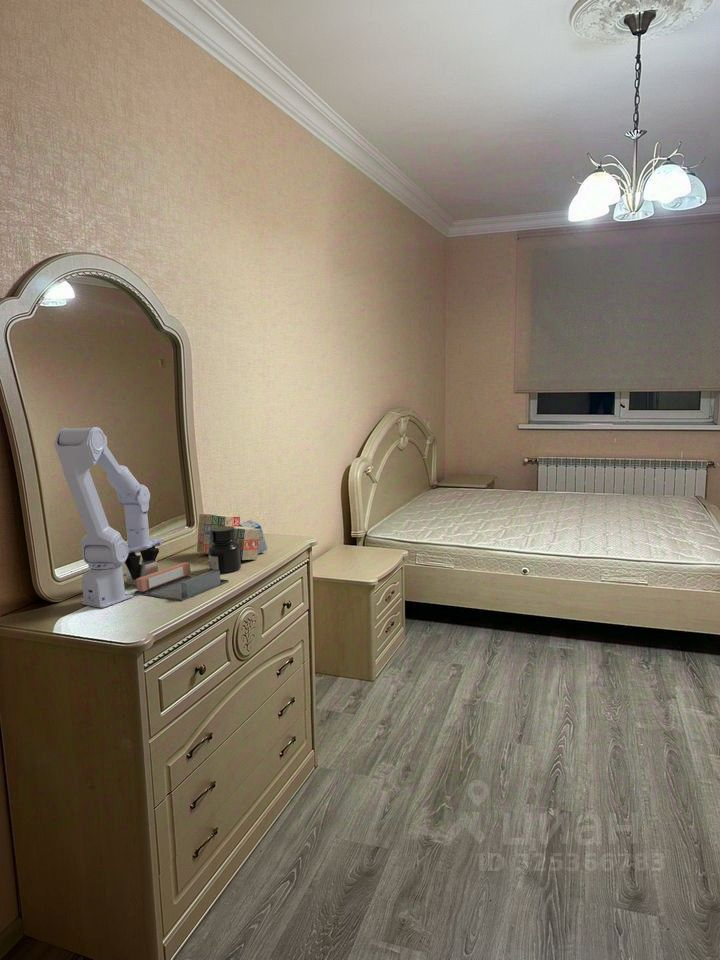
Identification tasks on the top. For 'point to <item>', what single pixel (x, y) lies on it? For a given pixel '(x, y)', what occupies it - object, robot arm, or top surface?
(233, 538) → the ink bottle
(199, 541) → the stack of blocks
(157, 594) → the vise bed
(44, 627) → the top surface
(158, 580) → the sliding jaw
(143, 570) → the steel block
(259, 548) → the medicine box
